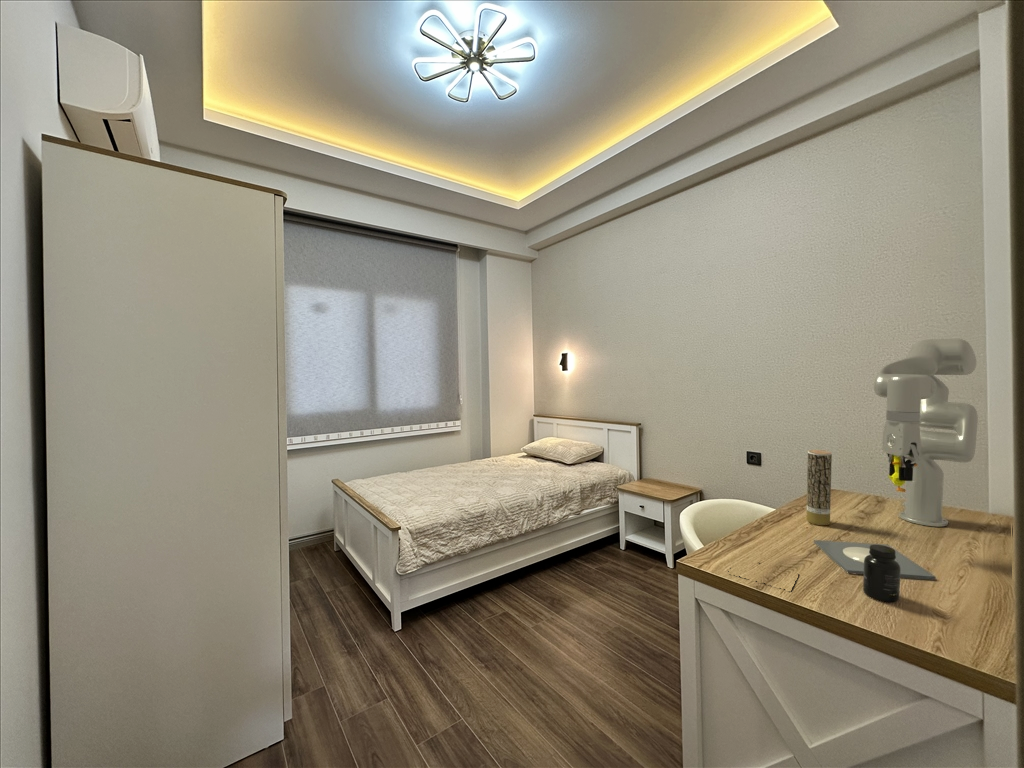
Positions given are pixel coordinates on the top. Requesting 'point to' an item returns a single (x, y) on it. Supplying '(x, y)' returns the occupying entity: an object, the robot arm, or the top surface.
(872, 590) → the supplement bottle
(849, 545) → the slate tile
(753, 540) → the top surface
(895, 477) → the toy figure
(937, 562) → the top surface
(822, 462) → the paper tube
